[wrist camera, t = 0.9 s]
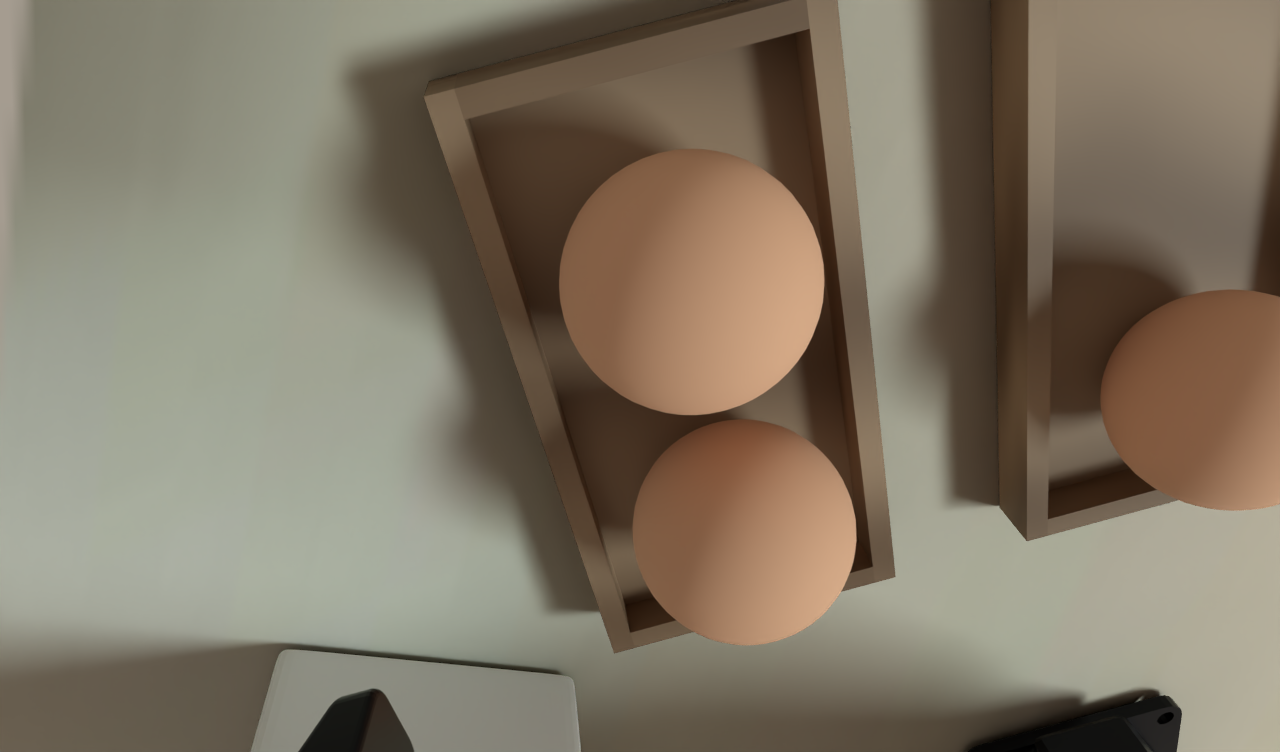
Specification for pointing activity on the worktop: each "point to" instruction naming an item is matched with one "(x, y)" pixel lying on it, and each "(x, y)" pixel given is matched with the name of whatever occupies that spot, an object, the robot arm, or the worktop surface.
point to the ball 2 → (744, 532)
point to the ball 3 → (1201, 399)
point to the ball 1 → (691, 281)
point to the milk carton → (423, 703)
